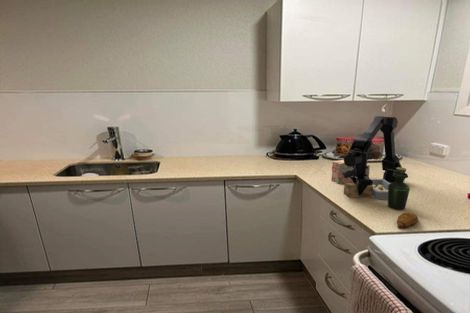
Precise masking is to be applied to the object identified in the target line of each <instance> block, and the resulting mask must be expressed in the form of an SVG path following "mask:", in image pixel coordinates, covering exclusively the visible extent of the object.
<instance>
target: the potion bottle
mask: <svg viewBox="0 0 470 313" xmlns="http://www.w3.org/2000/svg"><path fill="white" fill-rule="evenodd" d="M406 171H407V168H405V167H402V168H401V167H397V168H396V172H394V173H393V176H394V177H395V180H396V182H392V183H390V184H389V185H388V199H387V206H388V207H389V208H390V209H392V210H396V211H403V210H405V209H406V207H407V206H406V205H407V202H408V197H409V195H410V190H411V189H410V186H409V185H408V184H407V183H405V179H408V178H409V175H408V174H407V172H406Z"/></svg>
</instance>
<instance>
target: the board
mask: <svg viewBox="0 0 470 313" xmlns="http://www.w3.org/2000/svg"><path fill="white" fill-rule="evenodd" d="M343 186H344V187H343V195H345V196H346V197H347V198H372V197H373V196H372V192H373V186H367V187H366V189H365V190H364V191H363V193H362V194H361V195H358V185H357V184H356V183H353V182H349V183H343Z"/></svg>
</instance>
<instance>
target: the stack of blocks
mask: <svg viewBox="0 0 470 313" xmlns="http://www.w3.org/2000/svg"><path fill="white" fill-rule="evenodd" d="M367 166H368V169H366V174H367V177H368V178H370V167H371V166H370V164H368V163H367ZM351 167H352V166H351ZM346 168H350V167H348V166H347V165H345V163H344V159H341V160H340V159H339V160H333V161H332V166H331V182H333V183H336V184H340V185H341V184H344V183H353V180H352V179H351V178H350V177H348V178H344V177H343V176H342V173H341V170H343V169H346Z"/></svg>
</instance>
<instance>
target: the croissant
mask: <svg viewBox="0 0 470 313" xmlns="http://www.w3.org/2000/svg"><path fill="white" fill-rule="evenodd" d="M419 220H420V219H419V218H418V215H417V214H415V213H411V212H410V211H409V212H408V211H407V212H402V213H401V214H399V215H398V217H397V220H396V226H397V228H399V229H407V228H411V227H414V226H415V225H417V224H418V223H419Z"/></svg>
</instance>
